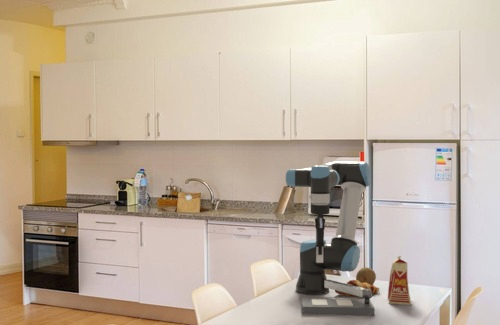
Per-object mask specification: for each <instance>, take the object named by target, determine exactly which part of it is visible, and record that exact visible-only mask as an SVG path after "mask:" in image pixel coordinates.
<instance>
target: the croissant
mask: <svg viewBox="0 0 500 325" xmlns="http://www.w3.org/2000/svg"><path fill="white" fill-rule="evenodd" d="M346 284H349V285H353V286H357V287H361V288H365V289H371V290H372V295H373V294H377V293H380V287H377V286H376V285H375V284H373V285H370V284H368V283H366V282H362V283H361V282H359V281H358V280H356V279H352V280H349V281H347V282H346ZM334 292H335V293H336V294H338V295H342V296H344V297H354V298H355V297H357V298H358V297H359V296H356V295H352V294H348V293H345V292H341V291H337V290H334Z"/></svg>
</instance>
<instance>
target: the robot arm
mask: <svg viewBox="0 0 500 325" xmlns="http://www.w3.org/2000/svg"><path fill="white" fill-rule="evenodd" d="M370 168H371V167H370V165H369V164H368V162H366V161H341V160H340V161H339V160H337V161H330V162H326V163H321V164H319V165H313V166H311V167H305V168H289V169H288V170H287V171H286V173H285V184H286V185H287V186H288V187H293V188H297V187H298V188H300V187H301V188H310V195H309V196H308V197H309V199H310V204H311V205H310V214H312V215H316V217H314V223H315V225H314V226H315V238H316V239H310V240H305V241H301V243H300V244H299V247H300V248H299V275H298V278H297V281H296V284H295V291H296V292H297V293H300V294H305V295H324V294H328V293H329V292H330V289H329V288H325V287H324V280H328V279H327V275H326V270H329V271H337V272H344V273H345V272H354V271H355V270H356V269H357V267H358V264H359V262H360V257H361V249H360V247H359V246H358V242H357V241H356V239H355V238H356V233H357V224H358V220H359V214H360V213H359V212H360V206H361V200H362V194H363V193H364V192H365V191H366V189H367V187H370V186H371V185H372V172H371V169H370ZM336 186H340V188H341V189H342V190H343V191H342V196H341V197H342V198H341V204H340V210H339V215H338V219H337V226H336V233H335V236H334V237H332V238H331V241H330V243H327V241H326V240H325V226H326V225H325V223H326V218H325V217H324V215H329V214H330V205H329V204H330V203H331V202H330V198H331V194H330V193H331V192H330V189H331V188H334V187H336Z"/></svg>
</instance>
